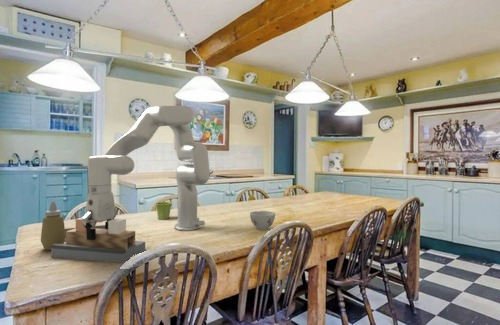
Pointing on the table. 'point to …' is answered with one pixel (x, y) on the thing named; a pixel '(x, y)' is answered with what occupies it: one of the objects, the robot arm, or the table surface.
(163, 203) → the plant pot
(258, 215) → the teacup
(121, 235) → the wooden beam
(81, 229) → the salmon pink cube
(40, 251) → the table surface
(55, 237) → the squeeze bottle
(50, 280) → the table surface
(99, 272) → the table surface
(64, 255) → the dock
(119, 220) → the white cube
